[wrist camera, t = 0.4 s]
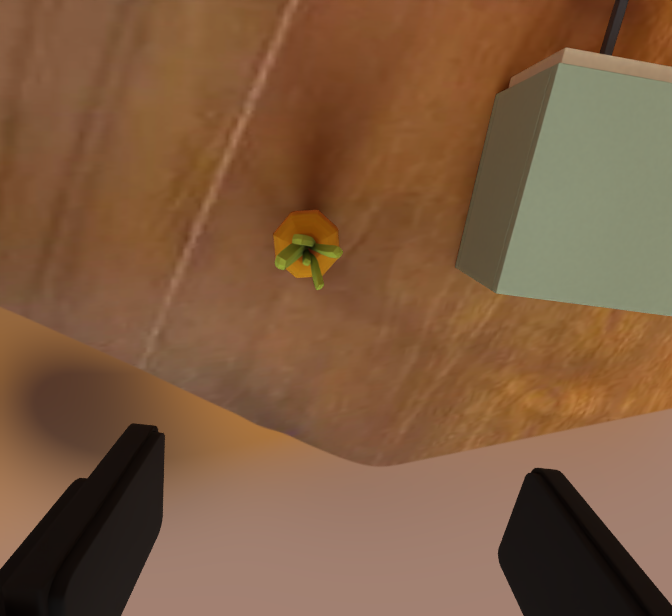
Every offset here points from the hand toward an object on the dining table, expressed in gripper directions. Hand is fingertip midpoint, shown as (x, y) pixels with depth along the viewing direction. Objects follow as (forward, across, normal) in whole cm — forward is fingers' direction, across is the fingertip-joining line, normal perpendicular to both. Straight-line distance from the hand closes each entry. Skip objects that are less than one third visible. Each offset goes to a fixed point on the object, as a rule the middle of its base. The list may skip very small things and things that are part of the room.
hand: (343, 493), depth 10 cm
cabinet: (+30, -20, -9) cm, 37 cm away
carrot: (+30, +2, -3) cm, 30 cm away
